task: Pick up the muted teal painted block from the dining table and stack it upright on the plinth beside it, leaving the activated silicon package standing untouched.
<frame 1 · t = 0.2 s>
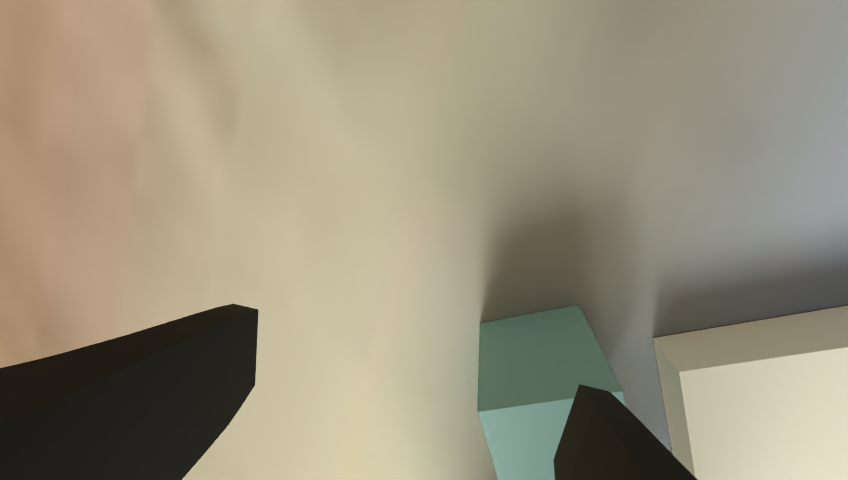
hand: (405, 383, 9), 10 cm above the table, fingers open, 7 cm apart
plinth: (817, 431, 18), on the table
teal block: (538, 356, 19), on the table
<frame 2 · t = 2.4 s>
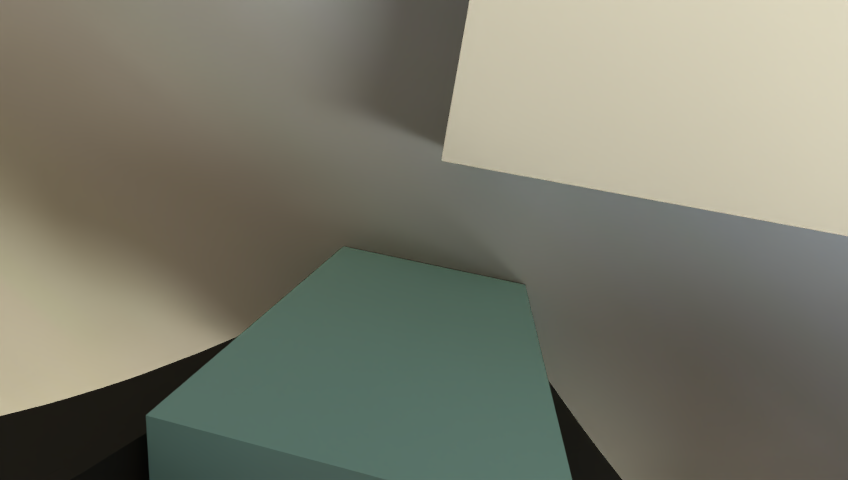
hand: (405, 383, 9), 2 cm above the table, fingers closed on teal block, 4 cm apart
teal block: (417, 344, 10), on the table, touching gripper
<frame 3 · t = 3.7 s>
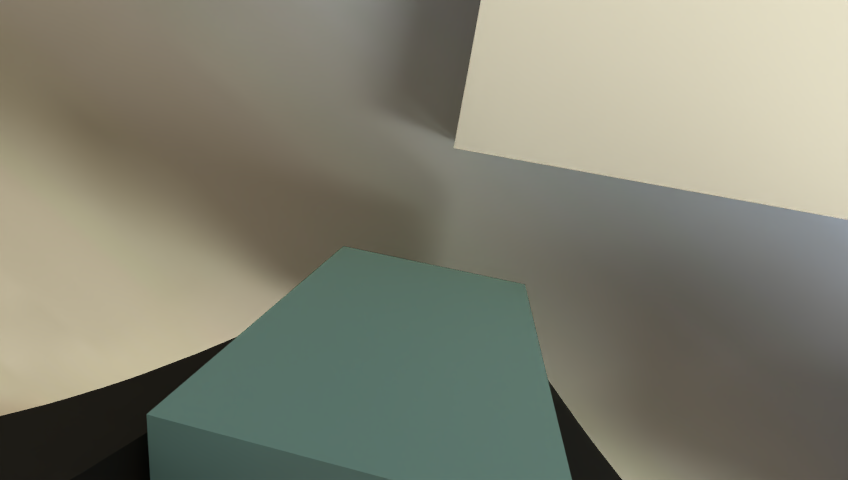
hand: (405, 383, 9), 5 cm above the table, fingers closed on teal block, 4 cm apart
teal block: (417, 344, 10), point 3 cm above the table, touching gripper
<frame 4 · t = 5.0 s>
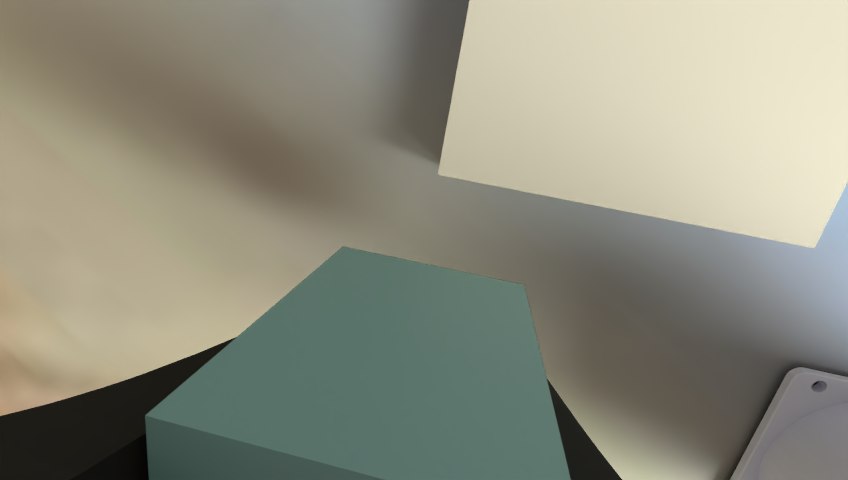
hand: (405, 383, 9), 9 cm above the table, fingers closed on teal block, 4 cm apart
plinth: (650, 25, 13), on the table
teal block: (417, 345, 10), point 7 cm above the table, touching gripper
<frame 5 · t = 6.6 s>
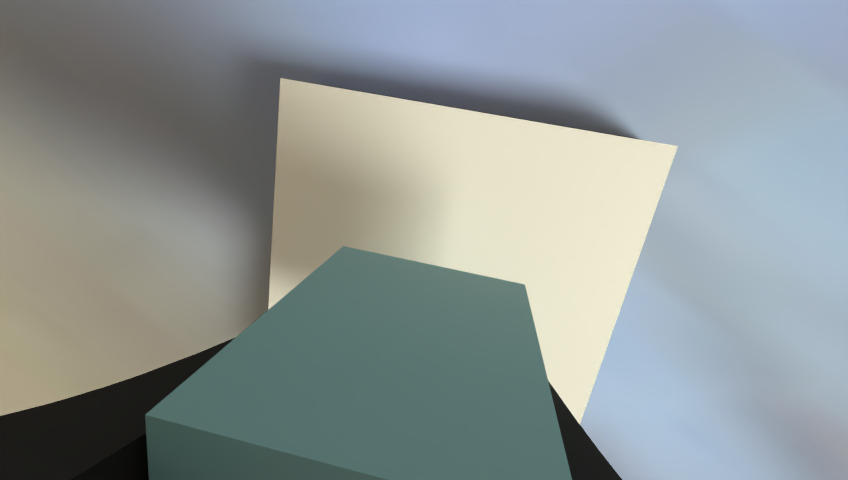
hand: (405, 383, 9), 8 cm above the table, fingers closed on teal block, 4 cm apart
plinth: (442, 266, 16), on the table
teal block: (417, 344, 10), point 6 cm above the table, touching gripper
when the fingers open (5 cm above the table, at t = 8.0 s): teal block stays where it is, resting on plinth.
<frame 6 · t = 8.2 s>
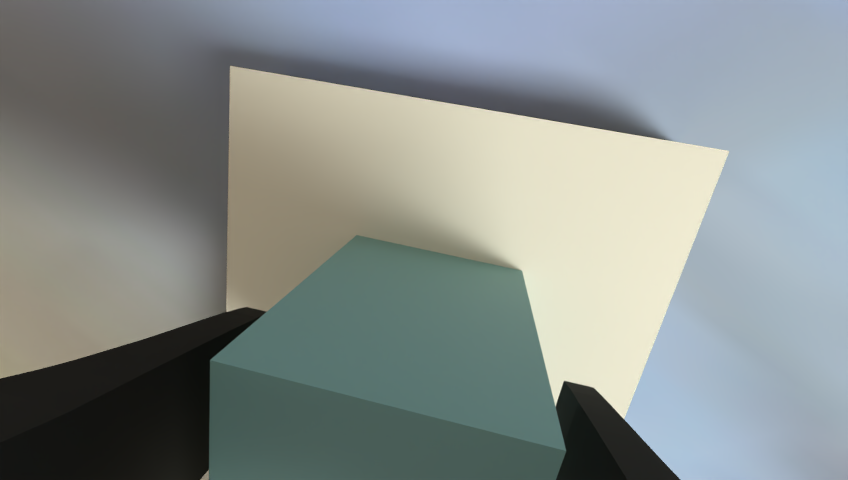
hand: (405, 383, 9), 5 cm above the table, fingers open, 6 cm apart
plinth: (434, 291, 14), on the table
teal block: (423, 326, 11), point 2 cm above the table, touching plinth
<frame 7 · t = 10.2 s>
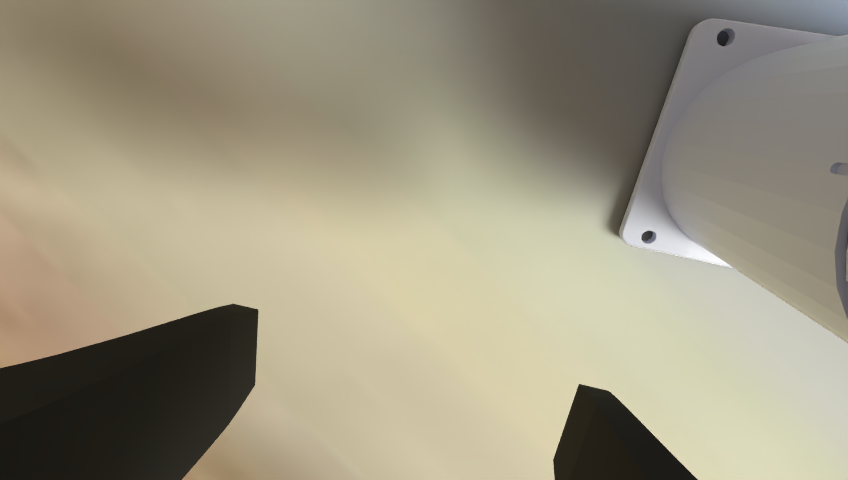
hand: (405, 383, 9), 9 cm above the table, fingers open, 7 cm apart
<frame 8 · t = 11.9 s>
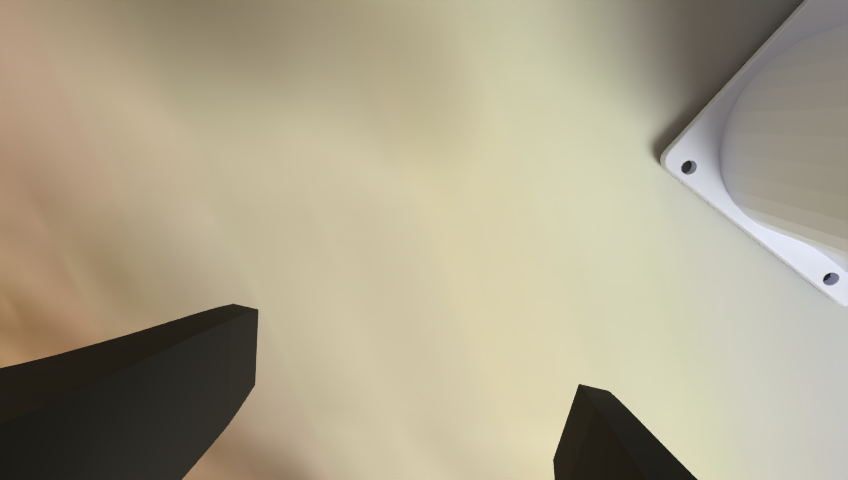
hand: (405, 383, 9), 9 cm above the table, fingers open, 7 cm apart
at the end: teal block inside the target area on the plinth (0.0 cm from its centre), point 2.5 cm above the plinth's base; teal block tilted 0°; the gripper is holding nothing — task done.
